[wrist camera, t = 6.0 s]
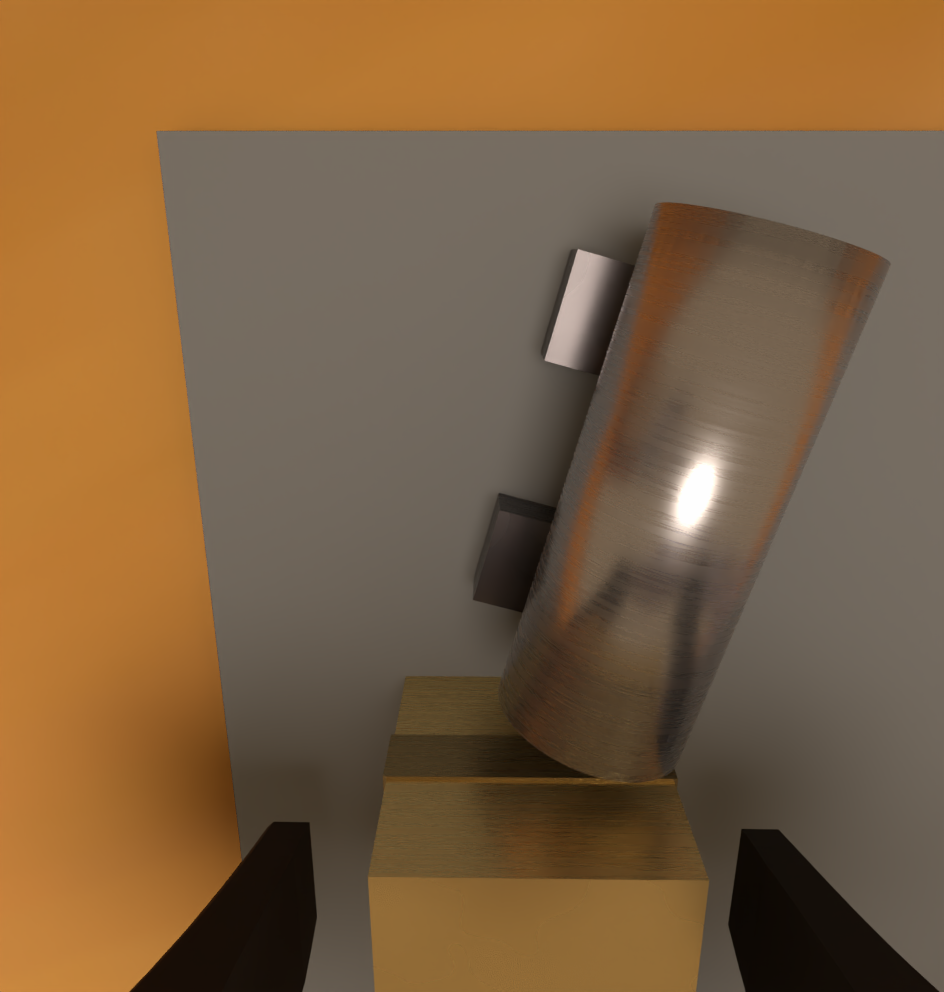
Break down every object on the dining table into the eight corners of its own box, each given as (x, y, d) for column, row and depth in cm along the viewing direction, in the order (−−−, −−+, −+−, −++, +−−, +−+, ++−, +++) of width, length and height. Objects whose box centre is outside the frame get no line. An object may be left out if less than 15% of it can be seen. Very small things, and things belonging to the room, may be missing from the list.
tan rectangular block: (640, 675, 14) (713, 877, 9) (626, 864, 15) (684, 1120, 10) (403, 673, 14) (363, 873, 9) (409, 862, 15) (378, 1114, 11)
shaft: (670, 649, 14) (745, 813, 10) (464, 597, 14) (454, 743, 10) (820, 273, 12) (995, 286, 8) (580, 203, 12) (630, 178, 8)
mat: (1236, 137, 11) (1277, 130, 11) (952, 1111, 18) (967, 1140, 17) (172, 136, 11) (156, 131, 11) (279, 1096, 18) (272, 1125, 17)
